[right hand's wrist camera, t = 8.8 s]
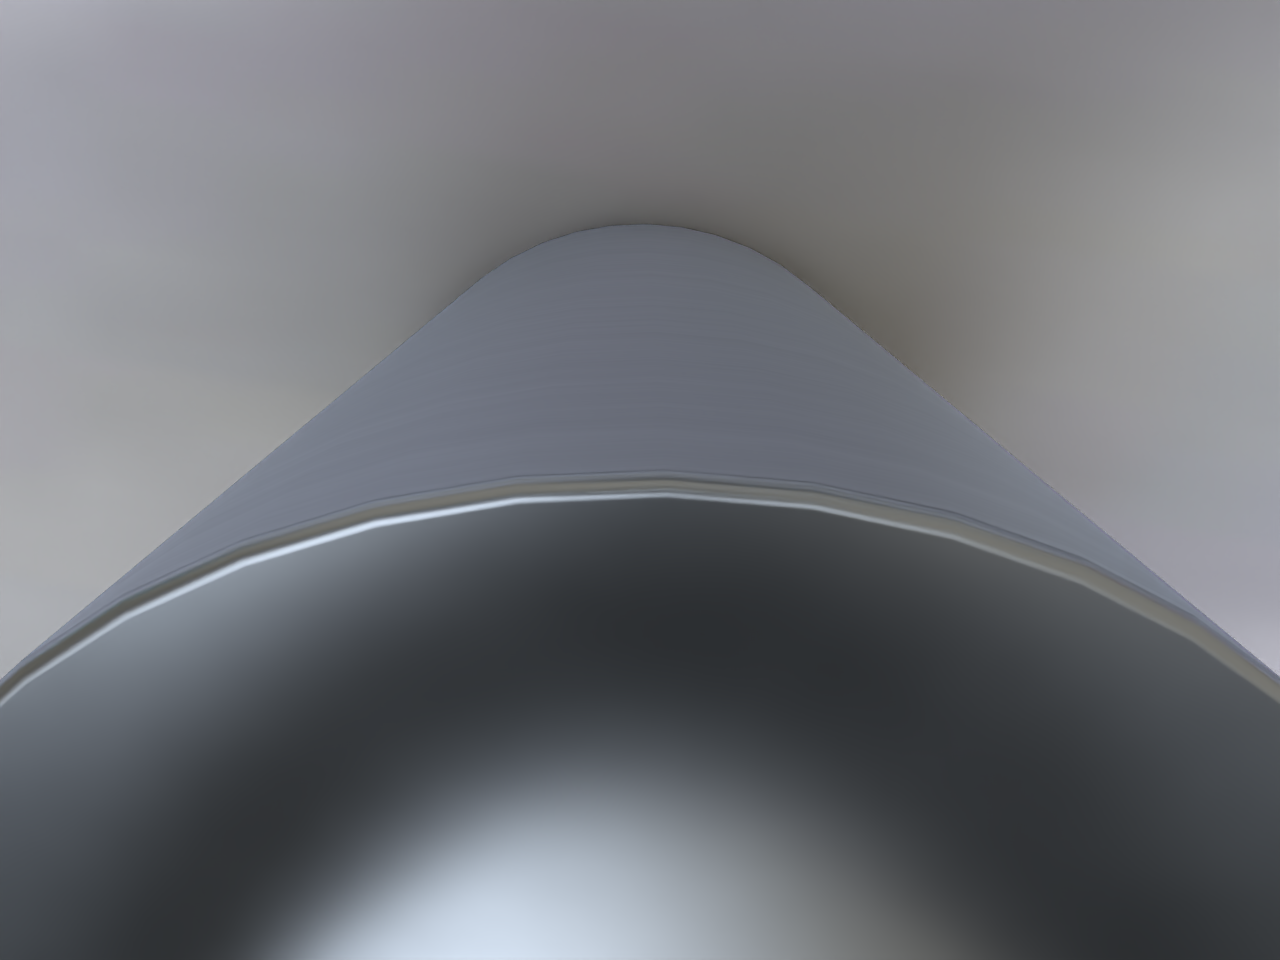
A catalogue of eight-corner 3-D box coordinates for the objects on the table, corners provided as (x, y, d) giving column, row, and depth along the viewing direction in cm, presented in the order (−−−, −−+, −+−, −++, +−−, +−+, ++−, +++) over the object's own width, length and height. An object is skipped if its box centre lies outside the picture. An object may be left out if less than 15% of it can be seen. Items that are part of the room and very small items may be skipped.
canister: (988, 398, 16) (1867, 1035, 5) (712, 757, 19) (828, 1722, 7) (545, 113, 14) (171, -14, 3) (313, 552, 17) (-354, 1383, 6)
